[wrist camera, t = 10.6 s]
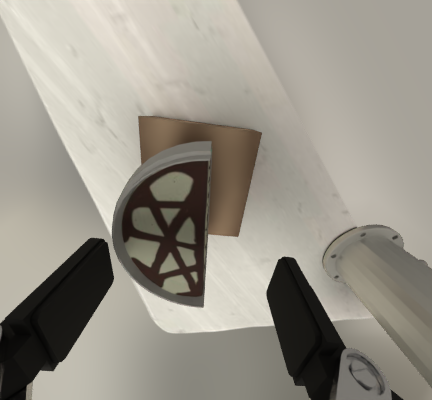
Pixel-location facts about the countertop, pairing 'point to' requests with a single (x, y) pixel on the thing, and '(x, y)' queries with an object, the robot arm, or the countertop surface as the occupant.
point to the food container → (167, 223)
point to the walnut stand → (221, 163)
